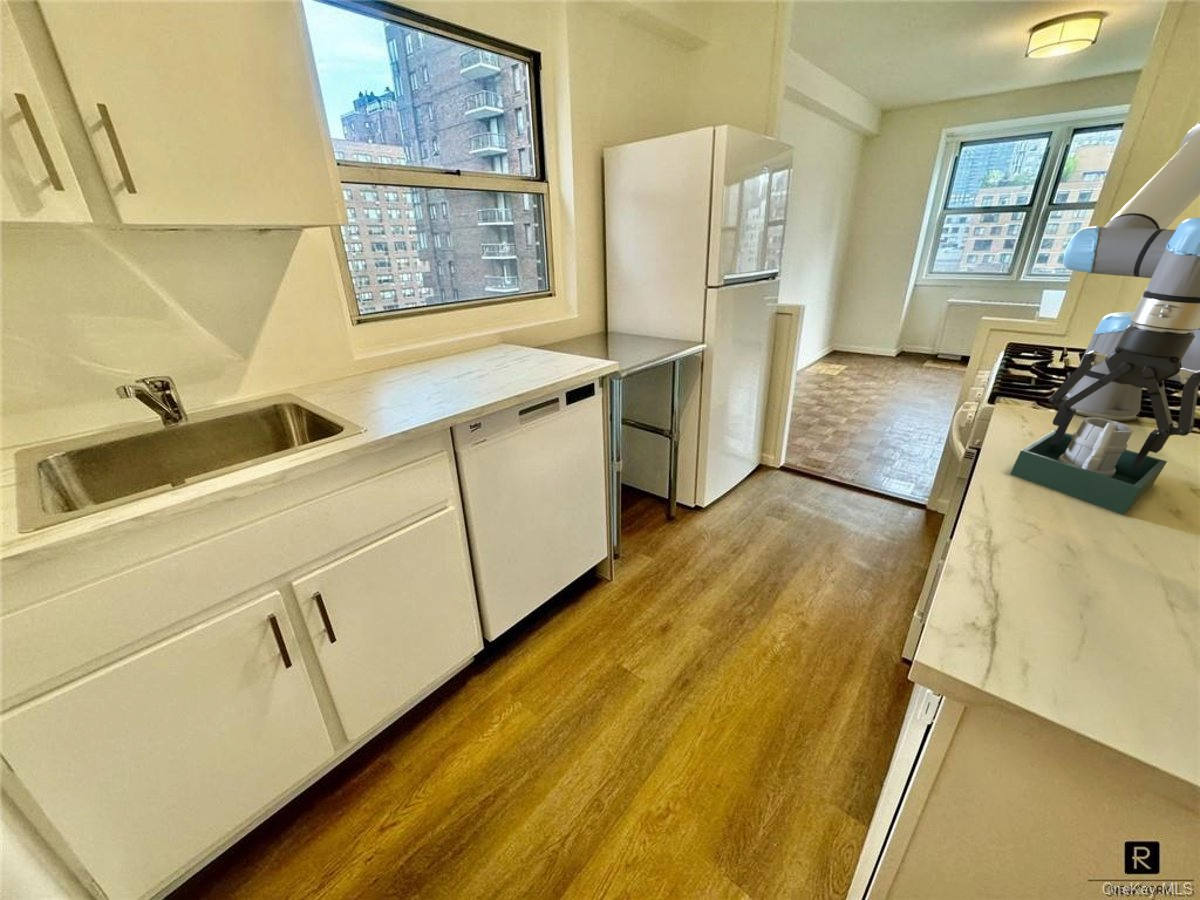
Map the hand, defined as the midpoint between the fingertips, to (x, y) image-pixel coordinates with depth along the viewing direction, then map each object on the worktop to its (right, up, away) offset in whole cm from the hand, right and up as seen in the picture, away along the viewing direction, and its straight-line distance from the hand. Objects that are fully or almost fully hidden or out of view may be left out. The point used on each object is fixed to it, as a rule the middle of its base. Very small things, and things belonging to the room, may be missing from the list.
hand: (1093, 454), depth 85 cm
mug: (0, -4, +2) cm, 5 cm away
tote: (0, -5, +2) cm, 5 cm away
